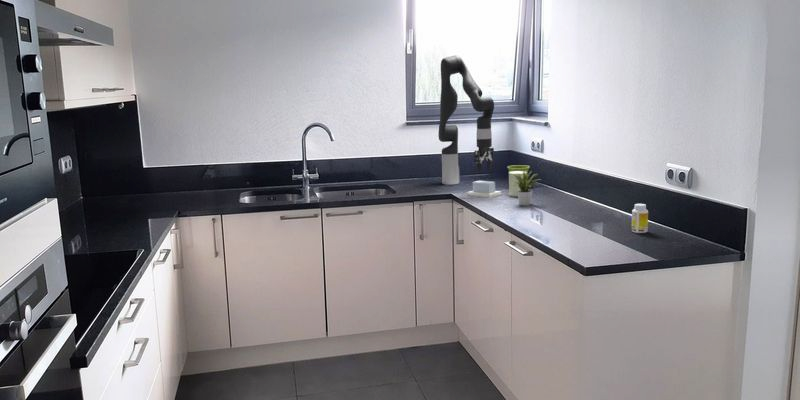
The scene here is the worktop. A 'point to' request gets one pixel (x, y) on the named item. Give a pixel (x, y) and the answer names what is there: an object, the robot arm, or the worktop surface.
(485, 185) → the plug housing
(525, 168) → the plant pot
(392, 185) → the worktop surface
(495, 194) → the white peg board
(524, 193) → the house plant
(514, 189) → the can
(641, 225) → the supplement bottle
